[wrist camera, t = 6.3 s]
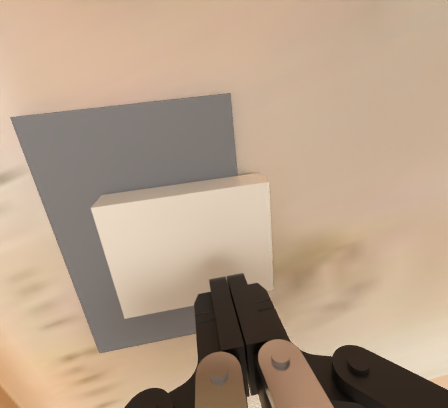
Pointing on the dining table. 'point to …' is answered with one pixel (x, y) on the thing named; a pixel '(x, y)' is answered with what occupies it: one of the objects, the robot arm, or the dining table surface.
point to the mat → (121, 189)
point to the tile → (185, 240)
